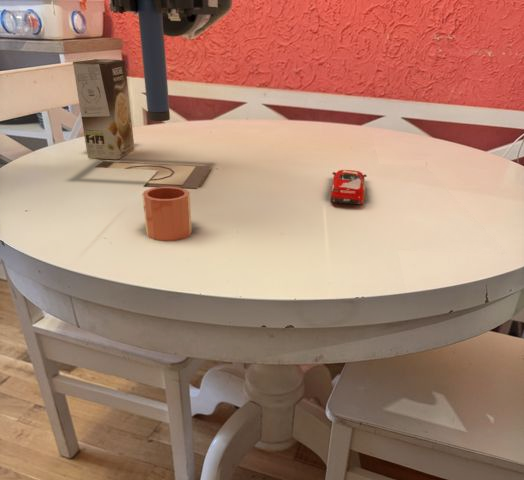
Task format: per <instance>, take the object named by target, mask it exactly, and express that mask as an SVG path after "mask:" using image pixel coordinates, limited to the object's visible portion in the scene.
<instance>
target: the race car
mask: <svg viewBox="0 0 524 480" xmlns="http://www.w3.org/2000/svg"><path fill="white" fill-rule="evenodd" d="M331 174H332V175H333V179H332V184H331V185H332V186H331V189H330V202H331V203H337V204H348V205H349V204H351V205H363V204H364V201H365V200H364V199H365V193H366V192H365V191H366V189H365V178H366V177H367V176H368V174H363V173H362V172H361V171H359V170H354V169H353V170H352V169H340V170H338V171H336V172H334V171H333V172H332V173H331Z"/></svg>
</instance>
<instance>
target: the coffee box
mask: <svg viewBox="0 0 524 480" xmlns="http://www.w3.org/2000/svg"><path fill="white" fill-rule="evenodd" d="M72 66H73V73H74V78H75V84H76V86H75V87H76V91H77V98H78V104H79V111H80V116H81V123H82V130H83V136H84V142H85V148H86V156H87V158H89V159H90V158H91V159H104V160H120V159H121V158H122V157H125V156H126V155H128V154H129V153H131V152H133V151H134V150H135V141H134V140H135V139H134V131H133V130H134V129H133V121H132V111H131V102H130V94H129V85H128V84H129V83H128V75H127V67H126V66H127V65H126V60H125V59H109V58H108V59H107V58H102V59H101V58H100V59H98V58H93V59H85V60H77V61H73V62H72Z"/></svg>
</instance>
